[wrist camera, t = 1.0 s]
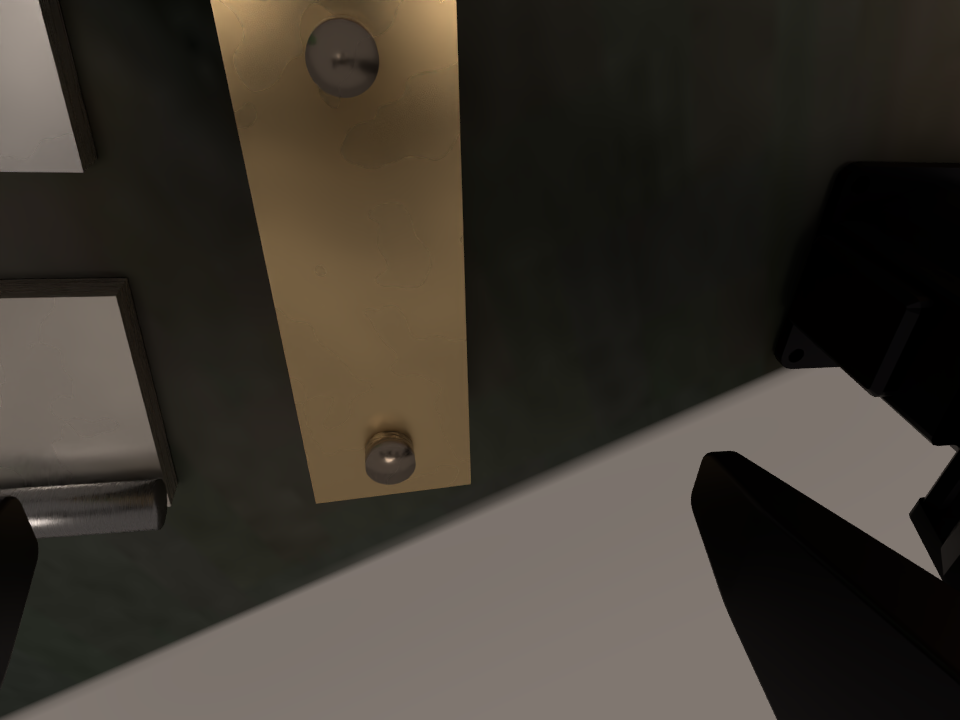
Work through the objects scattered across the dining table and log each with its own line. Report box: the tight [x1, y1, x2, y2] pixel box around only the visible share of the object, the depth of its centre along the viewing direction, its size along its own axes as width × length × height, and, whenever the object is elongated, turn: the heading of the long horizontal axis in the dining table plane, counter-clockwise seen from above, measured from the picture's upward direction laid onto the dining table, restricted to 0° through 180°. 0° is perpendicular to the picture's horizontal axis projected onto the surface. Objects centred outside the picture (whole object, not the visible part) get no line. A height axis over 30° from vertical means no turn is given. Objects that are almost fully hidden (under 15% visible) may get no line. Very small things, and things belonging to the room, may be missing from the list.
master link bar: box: [211, 0, 471, 504], centre depth 15 cm, size 4×12×5 cm, turn 1°
